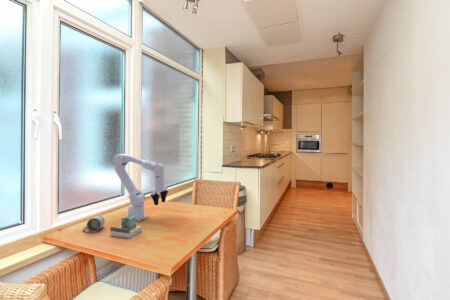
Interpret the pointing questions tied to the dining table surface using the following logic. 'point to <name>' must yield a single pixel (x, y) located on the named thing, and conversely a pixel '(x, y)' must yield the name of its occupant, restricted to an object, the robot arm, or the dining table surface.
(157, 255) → the dining table surface
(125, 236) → the dock
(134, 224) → the teal rectangular block
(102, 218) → the ceramic mug
